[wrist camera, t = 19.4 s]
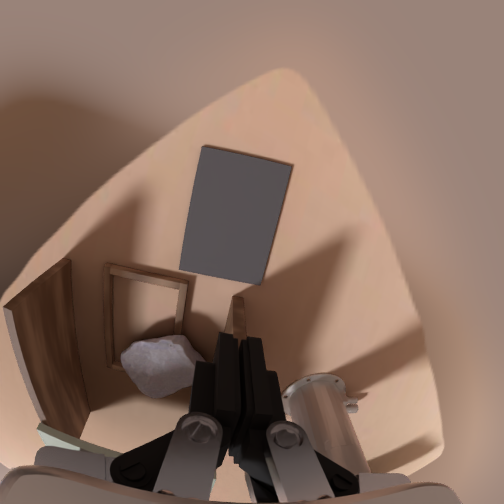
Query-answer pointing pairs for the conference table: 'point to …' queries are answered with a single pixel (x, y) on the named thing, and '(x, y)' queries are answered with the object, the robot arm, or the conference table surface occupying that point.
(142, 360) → the stone block
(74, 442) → the lid
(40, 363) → the well frame
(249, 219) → the mat
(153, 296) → the conference table surface
